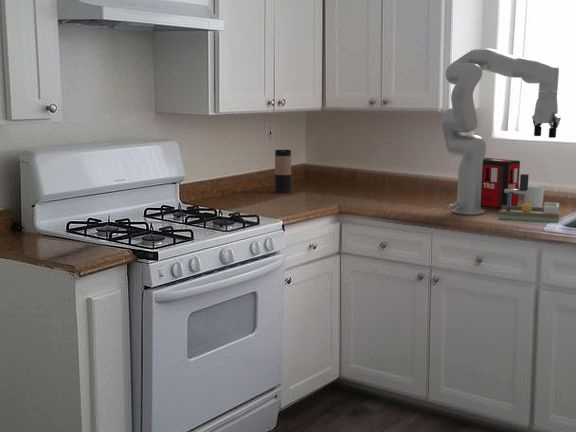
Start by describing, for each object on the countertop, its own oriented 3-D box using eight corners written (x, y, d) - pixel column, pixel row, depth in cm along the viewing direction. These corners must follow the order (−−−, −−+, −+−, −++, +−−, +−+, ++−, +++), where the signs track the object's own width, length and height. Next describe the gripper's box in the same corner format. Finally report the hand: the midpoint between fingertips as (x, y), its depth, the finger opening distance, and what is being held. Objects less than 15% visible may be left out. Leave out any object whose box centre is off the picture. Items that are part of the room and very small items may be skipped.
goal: (558, 212, 315) (559, 202, 314) (558, 217, 305) (559, 207, 304) (543, 212, 317) (544, 202, 316) (543, 216, 307) (543, 206, 306)
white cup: (527, 207, 337) (529, 184, 336) (546, 209, 333) (547, 185, 331) (520, 209, 331) (521, 186, 330) (538, 211, 327) (540, 187, 325)
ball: (526, 214, 311) (527, 204, 310) (518, 212, 314) (519, 203, 314) (533, 213, 313) (534, 203, 312) (525, 212, 316) (526, 202, 316)
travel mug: (272, 191, 381) (273, 149, 377) (288, 190, 383) (288, 149, 380) (277, 193, 374) (277, 151, 370) (293, 193, 376) (293, 150, 373)
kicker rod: (526, 210, 316) (528, 173, 314) (526, 213, 311) (528, 175, 308) (503, 209, 319) (505, 172, 317) (502, 211, 314) (504, 174, 311)
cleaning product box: (472, 205, 343) (474, 159, 339) (483, 203, 349) (486, 157, 345) (505, 210, 331) (508, 162, 327) (517, 207, 337) (520, 160, 333)
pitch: (558, 215, 318) (558, 208, 317) (558, 222, 303) (558, 214, 302) (501, 212, 325) (501, 205, 324) (498, 218, 310) (499, 211, 309)
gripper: (527, 95, 340) (524, 135, 343) (553, 96, 324) (550, 138, 327) (541, 95, 342) (539, 135, 345) (568, 96, 326) (565, 138, 329)
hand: (544, 136), depth 336 cm, fingers open, 9 cm apart
